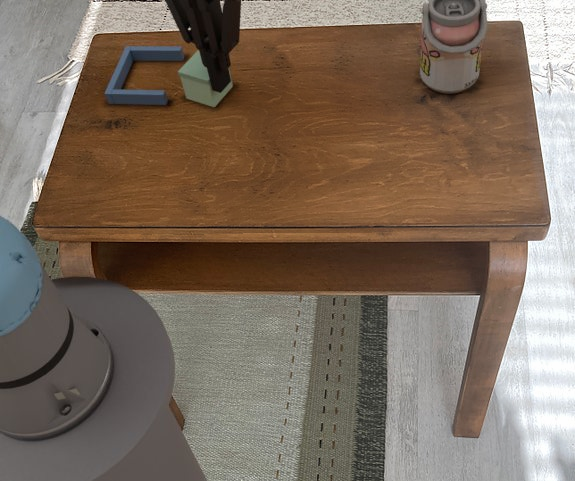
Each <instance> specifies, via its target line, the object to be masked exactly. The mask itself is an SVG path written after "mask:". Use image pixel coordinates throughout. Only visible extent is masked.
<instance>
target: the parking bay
mask: <svg viewBox="0 0 575 481" xmlns="http://www.w3.org/2000/svg"><path fill="white" fill-rule="evenodd" d="M184 60H185V54H184V49H183V46H169V45H167V46H162V45H161V46H160V45H159V46H158V45H157V46H155V45H148V46H147V45H143V46H142V45H126V46H125V47H124V49H123V52H122V54H121V56H120V58H119V61H118V63H117V65H116V67H115V69H114V71H113V74H112V75H111V78H110V81H109V83H108V84H107V86H106V89H105V91H104V96H105V99H106V102H107V104H108V105H140V106H142V105H144V106H147V105H148V106H167V104H168V102H169V99H168V96H167V92H166V90H163V89H122V88H123V85H124V83H125V82H126V79H127V76H128V74H129V72H130V69H131V67H132V64H133V62H134V61H137V62H140V61H143V62H144V61H147V62H149V61H150V62H151V61H152V62H183V61H184Z"/></svg>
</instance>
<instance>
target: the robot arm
mask: <svg viewBox="0 0 575 481" xmlns="http://www.w3.org/2000/svg"><path fill="white" fill-rule="evenodd" d="M164 1H165V4H166V6H167V9H168V10H169V12H170V14H171V16H172V18H173V21H174V22H175V25H176V26H177V29H178V31H179V33H180V35H181V37H182V39H183V41H184V42H185V43H186V44H191V43H192V44H193V45H194V46H195V48H196V49H197V51H198V50H199V52H200V56H201V60H202V64H203V65H204V67H207V71H208V75H209V79H210V83H211V87H212V90H213V91H216V92H219V93H221V92H222V91H223V90H224V89H225V88H226V87H227V85H228V84H229V83H230V82H231V80H232V77H231V78H230V75H231V72H230V73H229V71H230V67H231V65H232V62H231V58H230V53H231V52H232V51H233V50H234V49H235V48H236V46H237V45H239V43H240V33H241V32H240V31H241V17H242V16H241V14H242V0H222V2H223V3H222V4H223V5H221V0H164ZM228 68H229V69H228ZM51 280H52V279H51V277H50V275H49V273H48V272H47V270H46V269H45V267H44V266H43V264H42V262H41V260H40V258H39V255H38V252H37V251H36V249H35V247H34V246H33V244H32V242H31V241H30V240H29V239H28V238H27V236H26V235H25V234H24V233H23V232H22V231H21V230H20V229H18V227H17V226H16V225H14V224H13V223H12V221H10V220H9V219H6V218H5V217H4V216H2V215H0V433H2V434H3V435H5V436H7V437H10V438H13V439H16V440H22V441H40V440H46V439H50V438H54V437H57V436H59V435H62V434H64V433H66V432H68V431H70V430H72V429H73V428H75V427H77V426H78V425H80V424H81V423H82V422H84V421H85V420H86V419H87V418H88V417H89V416H90V415H91V414H92V413H93V412H94V411H95V410H96V409H97V408H98V407H99V405H100V404H101V402H102V401H103V399H104V398H105V396H106V394H107V392H108V390H109V388H110V385H111V382H112V378H113V373H114V358H113V353H112V350H111V347H110V345H109V343H108V341H107V340H106V338H105V336H104V334H103V333H102V331H101V330H100V329H99V328H98V327H97V326H96V325H95V324H94V323H93V322H91V321H90V320H88V319H86V318H85V317H83V316H81V315H79V314H78V313H76V312H74V311H72V310H71V309H69V308H68V307H67V306H66V304H65V302H64V301H63V299H62V297H61V296H60V294H59V292H58V291H57V289H56V287H55V286H54V284H53V282H52V281H51Z"/></svg>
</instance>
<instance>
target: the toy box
mask: <svg viewBox="0 0 575 481" xmlns="http://www.w3.org/2000/svg"><path fill="white" fill-rule="evenodd" d="M228 69H229V73H230V78H231V82H230V83H229V84H228V85H227V87H226V88H225V89H224V90H223V91H222V92H221V93H219V92H216V91H213V90H212V87H211V83H210V79H209V75H208V71H207V67H204V65H203V64H202V60H201V56H200V52H199V50H198V49H197V50H196V52H195V53H194V54H193V55H192V56H191V57H190V58H189V59H188V60H187V61H186V62H185V64H183V65H182V67H180V68H179V70H178V71H177V74H178V77H180V82H181V85H182V88H183V92H184V95H185V96H184V97H185V99H187V100H189V101H193V102H195V103H199V104H202V105H204V106H205V105H206V106H209V107H212V108H215V107H216V106H217V105H218V104H219V103H220V102H221V101H222V100H223V98H224V97H225V96H226V95H227V94H228V93H229V92H230V91H231V90H232V88H233V87H234V85H233V80H232V75H231V71H230V67H229V68H228Z"/></svg>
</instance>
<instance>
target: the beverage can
mask: <svg viewBox="0 0 575 481" xmlns="http://www.w3.org/2000/svg"><path fill="white" fill-rule="evenodd" d="M487 9H488V4H487V2H486V0H429V1H428V3H423V4H422V8H421V11H420V12H421V14H422V18H421V31H420V32H421V33H420V34H421V37H420V62H419V63H420V64H419V76H420V78H421V80H422V82H423V83H424V84H425V85H426V87H428V88H429V89H430V90H432V91H435V92H437V93H440V94H458V93H461V92H464V91H466V90H468V89H469V88H471V87H472V86H473V85H474V84H475V83H476V82H477V80H478V79H479V76H480V70H481V62H482V61H481V60H482V51H483V42H484V40H485V38H486V35H487V32H488V27H489V26H488V16H487Z"/></svg>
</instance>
